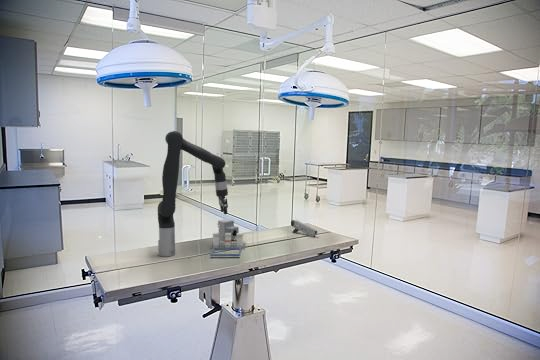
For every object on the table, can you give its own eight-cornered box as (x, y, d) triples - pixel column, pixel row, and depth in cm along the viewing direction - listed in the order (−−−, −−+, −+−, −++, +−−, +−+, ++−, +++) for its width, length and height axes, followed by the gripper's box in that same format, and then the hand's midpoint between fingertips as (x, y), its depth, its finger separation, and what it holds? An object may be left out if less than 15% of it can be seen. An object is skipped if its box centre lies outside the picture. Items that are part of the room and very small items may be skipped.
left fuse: (213, 248, 224) (212, 234, 224) (213, 246, 228) (213, 232, 227) (218, 248, 224) (218, 234, 224) (219, 246, 228) (219, 232, 227)
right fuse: (236, 248, 225) (236, 234, 224) (237, 246, 228) (237, 232, 228) (242, 248, 225) (242, 234, 224) (242, 246, 228) (242, 232, 228)
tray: (210, 258, 208) (210, 254, 208) (213, 251, 222) (213, 247, 221) (239, 258, 209) (239, 254, 208) (240, 251, 222) (240, 247, 222)
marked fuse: (224, 248, 225) (224, 234, 224) (225, 246, 228) (225, 232, 227) (230, 248, 225) (230, 234, 224) (231, 246, 228) (231, 232, 227)
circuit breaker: (232, 245, 236) (232, 223, 234) (217, 242, 244) (217, 220, 243) (240, 243, 242) (240, 221, 240) (225, 239, 250) (225, 219, 249)
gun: (290, 230, 277) (293, 218, 274) (315, 243, 260) (318, 230, 257) (288, 230, 275) (290, 218, 272) (313, 243, 258) (315, 231, 255)
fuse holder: (209, 251, 222) (209, 243, 221) (212, 247, 231) (211, 240, 230) (244, 251, 222) (244, 243, 222) (245, 247, 231) (245, 240, 231)
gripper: (213, 187, 233) (216, 211, 235) (218, 190, 219) (221, 215, 222) (224, 186, 235) (227, 209, 238) (229, 188, 222) (232, 213, 224)
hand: (224, 212), depth 230 cm, fingers open, 8 cm apart
